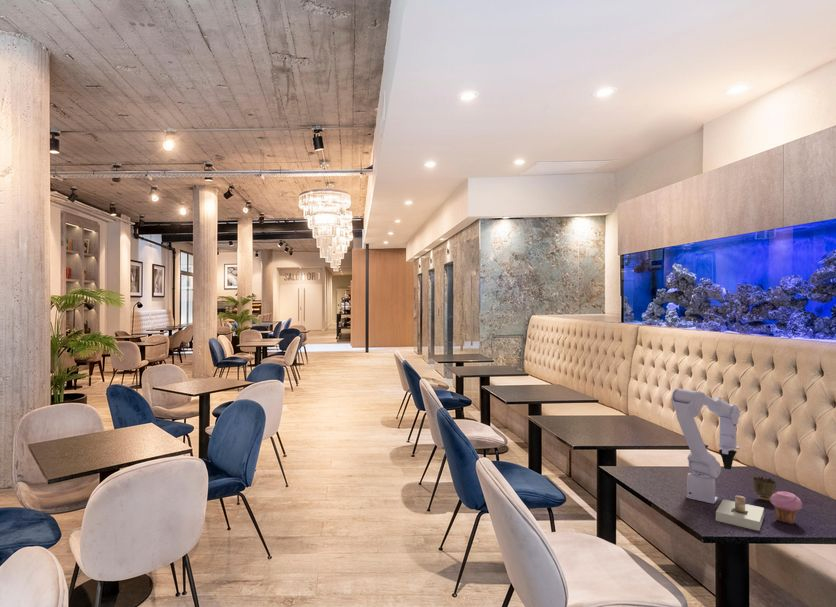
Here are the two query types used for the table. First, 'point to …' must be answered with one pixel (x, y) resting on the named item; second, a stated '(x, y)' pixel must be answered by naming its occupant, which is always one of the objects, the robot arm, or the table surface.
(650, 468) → the table surface
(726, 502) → the board
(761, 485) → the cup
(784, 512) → the cupcake
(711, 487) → the robot arm
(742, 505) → the peg
